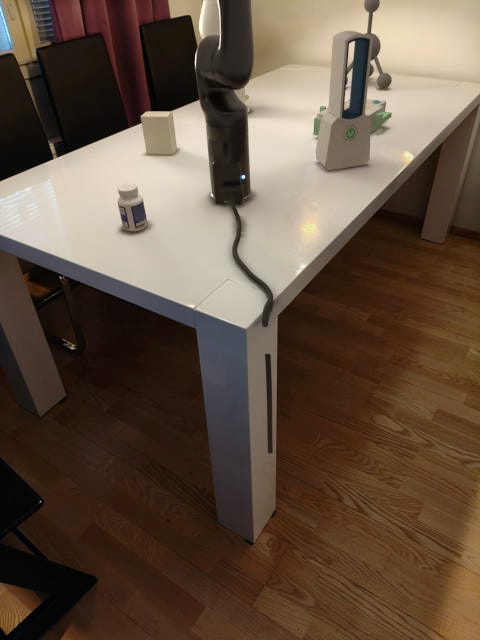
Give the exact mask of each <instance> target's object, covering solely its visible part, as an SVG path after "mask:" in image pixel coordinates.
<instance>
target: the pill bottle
mask: <svg viewBox="0 0 480 640" xmlns="http://www.w3.org/2000/svg"><path fill="white" fill-rule="evenodd" d="M117 193H118V196H119V197H118V199H117V206H118V210H119V211H118V212H119V215H120V219H121V224H122V227H123V229H124V230H125V231H128V232H138V231H141V230H144V229H146V227H147V226H148V217H147V214H146V208H145V203H144V198H143V196H142V195H141V194H139V188H138V185H137V184H135V183H132V182H131V183H123V184H121V185H119V186H118V187H117Z"/></svg>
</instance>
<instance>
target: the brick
mask: <svg viewBox="0 0 480 640" xmlns="http://www.w3.org/2000/svg"><path fill="white" fill-rule="evenodd" d="M140 121H141V128H142V134H143V140H144V145H145V146H144V147H145V152H146V155H158V156H159V155H161V156H163V155H164V156H165V155H166V156H173V154H174V153H176V151H177V150H178V144H177V137H176V129H175V121H174V113H173V111H145V112H144V113H143V114H142V115H140Z"/></svg>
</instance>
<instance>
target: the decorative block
mask: <svg viewBox="0 0 480 640" xmlns="http://www.w3.org/2000/svg"><path fill="white" fill-rule="evenodd" d="M349 105H350V98H349V99H347V100H345V103H344V110H345V109H347V108H349ZM386 107H387V101H386V100H379V99H369V98H367V99H366V109H365V114H366V115H367V116H368V117H369V118H370V119H371V129H370V134H371V133H373V132H375V130H377V131H378V130H381V129H382V124H383V123H385V122H387V121H388V120H389V119H391V118H392V115H393V114H392V113H393V112H392V111H386ZM328 110H329V106H328V107H327V106H326V105H321V106H320V107H319V112H318V113H316V117H314V118H313V119H314V120H313V135H314V136H318V135H319V129H320V124H321V119H322V117H323V116H324V115H325V114H326V113H327V112H328Z"/></svg>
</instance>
